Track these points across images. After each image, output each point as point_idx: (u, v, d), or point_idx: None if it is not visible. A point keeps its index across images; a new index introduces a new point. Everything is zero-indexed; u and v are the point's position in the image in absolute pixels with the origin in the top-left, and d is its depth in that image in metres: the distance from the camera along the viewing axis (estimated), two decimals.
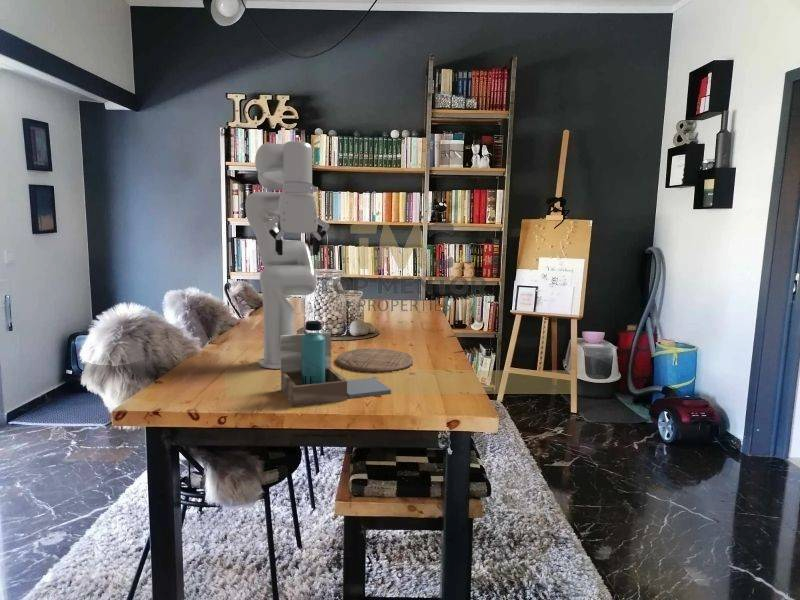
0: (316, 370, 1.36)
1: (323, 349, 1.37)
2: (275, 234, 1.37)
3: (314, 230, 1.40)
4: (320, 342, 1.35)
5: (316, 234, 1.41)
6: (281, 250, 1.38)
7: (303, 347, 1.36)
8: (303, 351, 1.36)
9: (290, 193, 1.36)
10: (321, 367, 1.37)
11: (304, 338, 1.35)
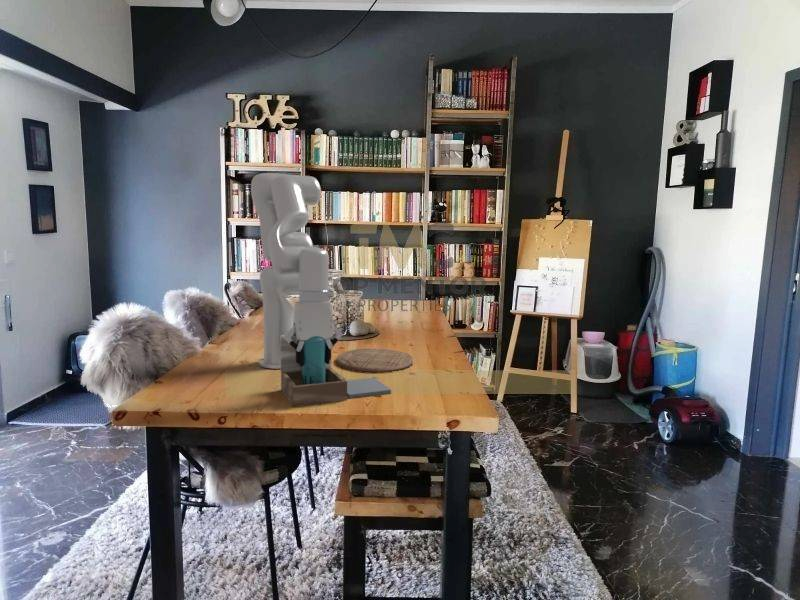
0: (316, 370, 1.36)
1: (323, 349, 1.37)
2: (295, 346, 1.35)
3: (330, 336, 1.37)
4: (320, 342, 1.35)
5: (329, 342, 1.38)
6: (302, 361, 1.35)
7: (303, 347, 1.36)
8: (303, 351, 1.36)
9: (306, 302, 1.32)
10: (321, 367, 1.37)
11: None
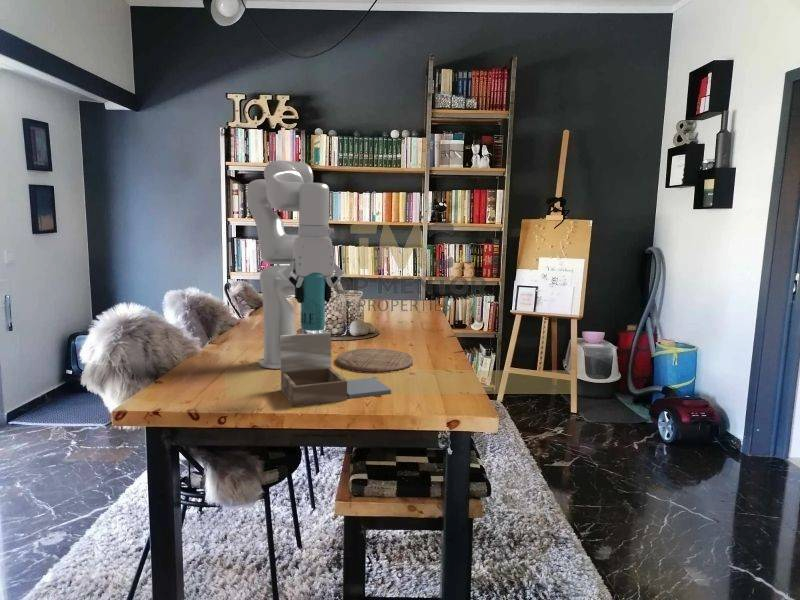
0: (315, 307, 1.34)
1: (323, 286, 1.35)
2: (294, 282, 1.33)
3: (330, 273, 1.35)
4: (320, 278, 1.33)
5: (328, 280, 1.36)
6: (301, 298, 1.33)
7: (303, 284, 1.34)
8: (303, 288, 1.34)
9: (306, 237, 1.30)
10: (321, 304, 1.35)
11: None
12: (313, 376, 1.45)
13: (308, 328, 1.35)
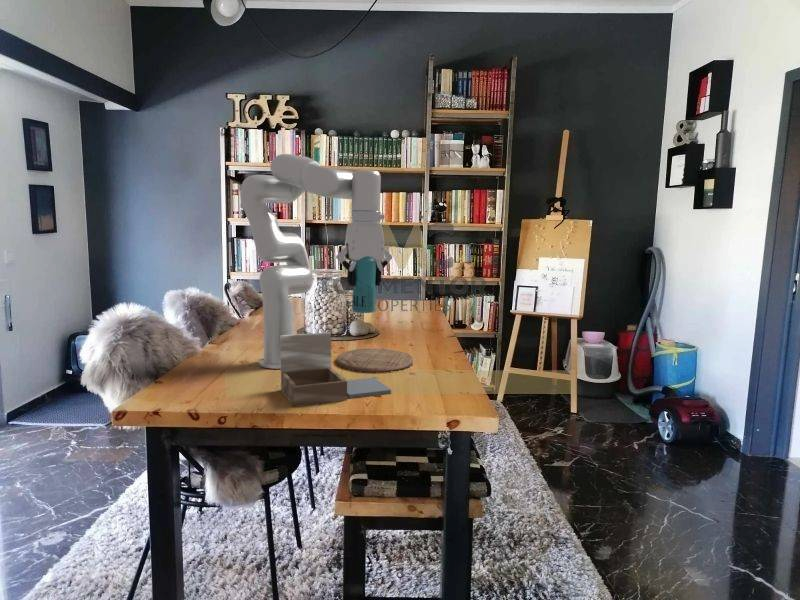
0: (367, 290, 1.39)
1: (374, 270, 1.40)
2: (347, 266, 1.38)
3: (381, 258, 1.40)
4: (372, 262, 1.38)
5: (379, 264, 1.41)
6: (354, 281, 1.38)
7: (355, 267, 1.39)
8: (355, 271, 1.39)
9: (360, 222, 1.35)
10: (372, 288, 1.40)
11: None
12: (313, 376, 1.45)
13: (360, 310, 1.39)
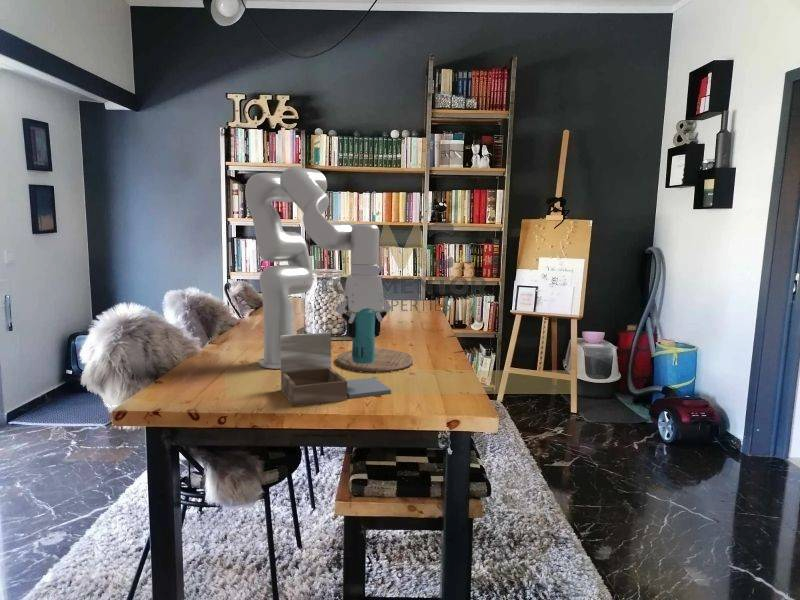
0: (367, 341, 1.41)
1: (374, 321, 1.42)
2: (347, 318, 1.40)
3: (380, 309, 1.42)
4: (371, 314, 1.40)
5: (378, 315, 1.43)
6: (353, 333, 1.40)
7: (355, 319, 1.41)
8: (355, 323, 1.41)
9: (359, 275, 1.37)
10: (372, 339, 1.41)
11: None
12: (313, 376, 1.45)
13: (360, 361, 1.41)
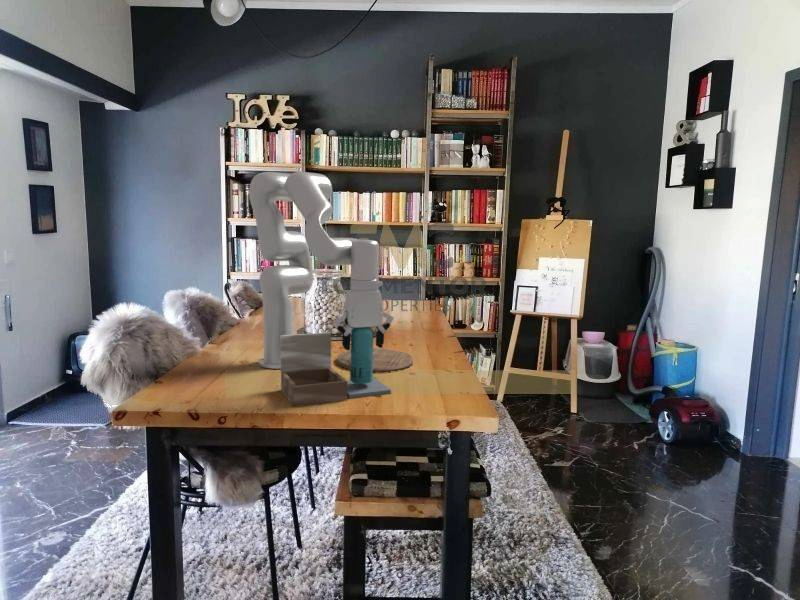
0: (365, 362, 1.41)
1: (372, 341, 1.42)
2: (343, 330, 1.40)
3: (380, 324, 1.43)
4: (369, 334, 1.41)
5: (381, 327, 1.44)
6: (349, 346, 1.40)
7: (353, 339, 1.41)
8: (353, 343, 1.42)
9: (358, 291, 1.38)
10: (370, 359, 1.42)
11: (354, 331, 1.41)
12: (313, 376, 1.45)
13: (358, 381, 1.42)
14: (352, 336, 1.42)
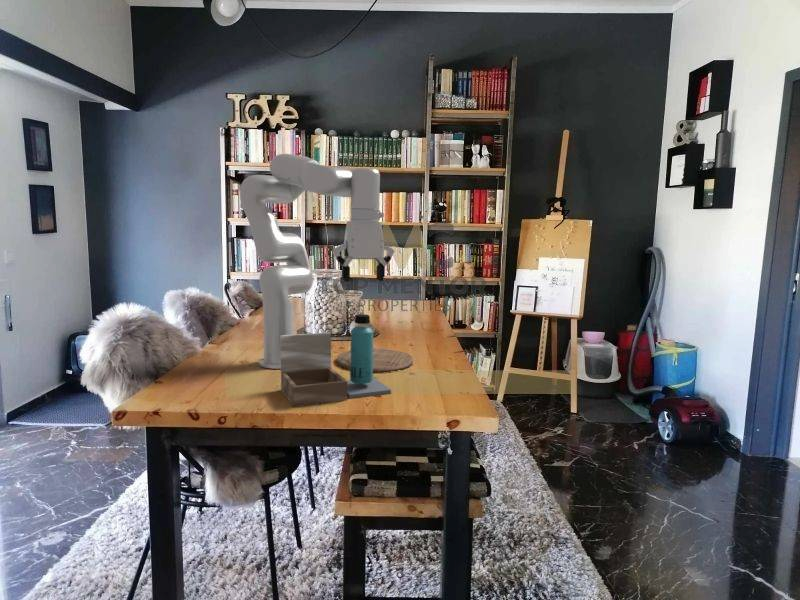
0: (365, 362, 1.41)
1: (372, 341, 1.42)
2: (343, 260, 1.37)
3: (380, 256, 1.40)
4: (369, 334, 1.41)
5: (382, 260, 1.41)
6: (348, 276, 1.38)
7: (353, 339, 1.41)
8: (353, 343, 1.42)
9: (359, 220, 1.35)
10: (370, 359, 1.42)
11: (354, 331, 1.41)
12: (313, 376, 1.45)
13: (358, 381, 1.42)
14: (352, 336, 1.42)
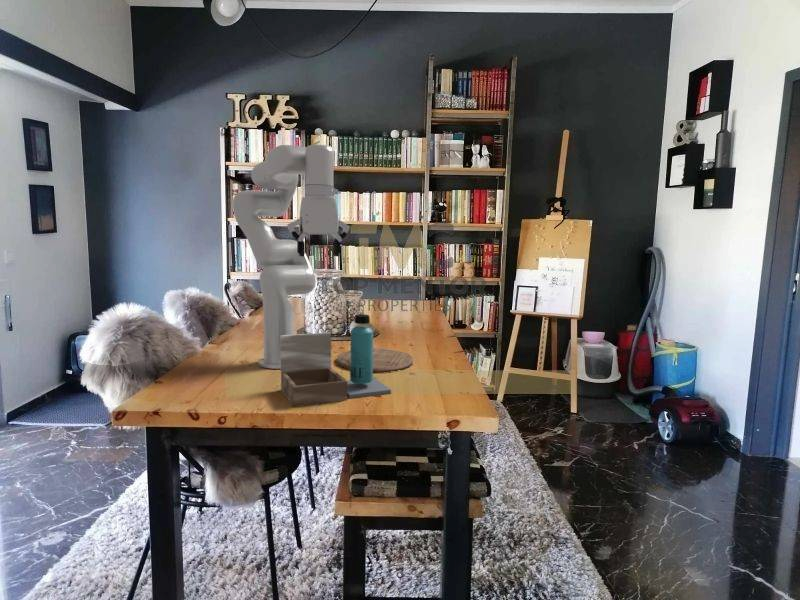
0: (365, 362, 1.41)
1: (371, 341, 1.42)
2: (297, 236, 1.40)
3: (335, 232, 1.43)
4: (369, 334, 1.41)
5: (337, 236, 1.44)
6: (303, 251, 1.41)
7: (353, 339, 1.41)
8: (353, 343, 1.42)
9: (312, 195, 1.38)
10: (370, 359, 1.42)
11: (354, 331, 1.41)
12: (313, 376, 1.45)
13: (358, 381, 1.42)
14: (352, 336, 1.42)
